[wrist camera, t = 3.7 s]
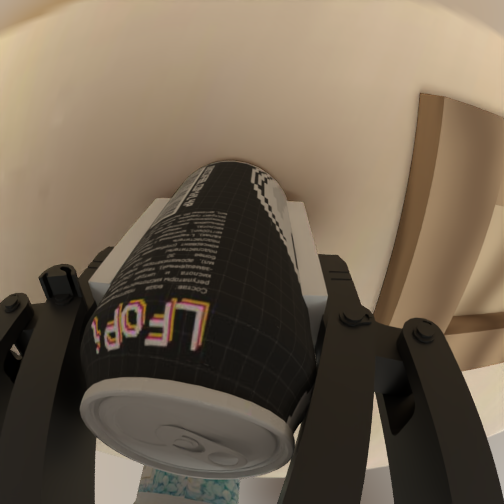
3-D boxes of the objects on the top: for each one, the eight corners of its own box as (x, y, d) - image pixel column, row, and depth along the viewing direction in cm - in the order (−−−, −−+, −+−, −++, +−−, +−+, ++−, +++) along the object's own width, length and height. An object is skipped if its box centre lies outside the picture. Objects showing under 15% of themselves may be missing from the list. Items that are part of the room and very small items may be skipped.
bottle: (164, 334, 20) (91, 615, 3) (259, 349, 21) (242, 644, 3) (169, 386, 24) (122, 602, 6) (247, 398, 24) (229, 621, 7)
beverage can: (256, 275, 17) (246, 496, 7) (162, 233, 16) (58, 437, 6) (310, 190, 15) (389, 424, 4) (203, 136, 14) (43, 309, 3)
